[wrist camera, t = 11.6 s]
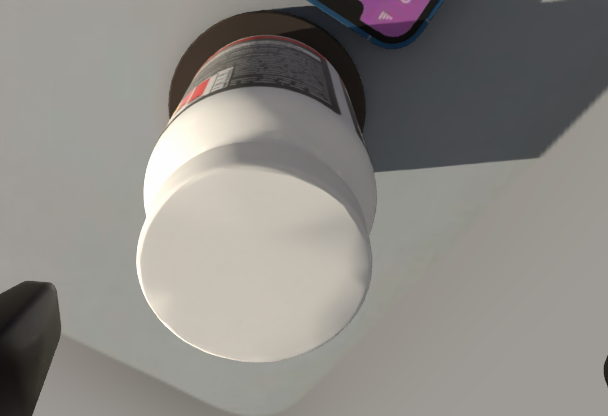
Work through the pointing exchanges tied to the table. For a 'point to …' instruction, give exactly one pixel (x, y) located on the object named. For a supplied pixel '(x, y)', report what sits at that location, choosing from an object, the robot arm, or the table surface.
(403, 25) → the smartphone
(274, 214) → the pill bottle
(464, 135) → the table surface
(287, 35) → the coaster
